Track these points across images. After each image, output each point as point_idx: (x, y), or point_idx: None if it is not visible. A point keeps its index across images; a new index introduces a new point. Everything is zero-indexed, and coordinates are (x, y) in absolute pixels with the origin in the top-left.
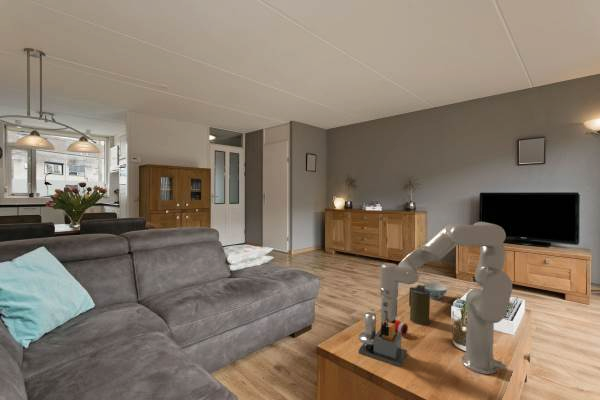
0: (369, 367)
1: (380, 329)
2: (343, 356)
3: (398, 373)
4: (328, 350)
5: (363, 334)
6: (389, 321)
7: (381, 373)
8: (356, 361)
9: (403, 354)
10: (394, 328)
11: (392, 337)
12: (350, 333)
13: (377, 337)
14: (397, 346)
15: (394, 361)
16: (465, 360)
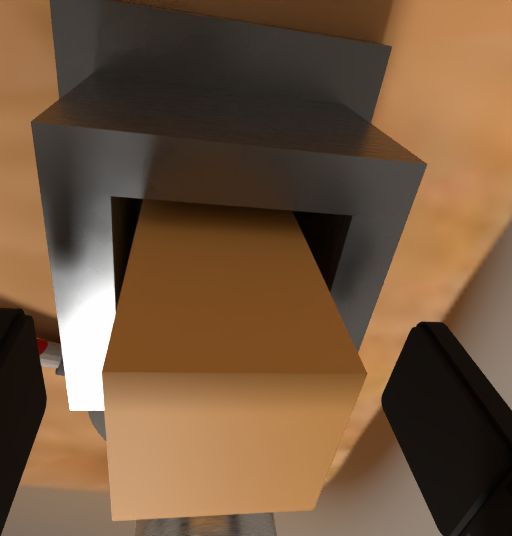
0: (446, 268)
1: (95, 405)
2: (366, 409)
3: (486, 47)
4: (334, 471)
5: None
6: (14, 462)
7: (505, 182)
8: (397, 346)
9: (188, 30)
10: (165, 305)
11: (288, 245)
12: (60, 465)
13: None
14: (311, 128)
15: (373, 112)
16: None
